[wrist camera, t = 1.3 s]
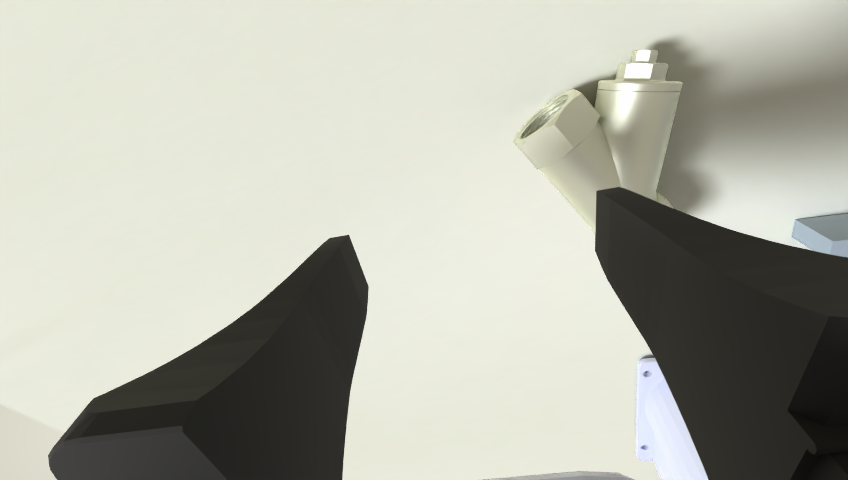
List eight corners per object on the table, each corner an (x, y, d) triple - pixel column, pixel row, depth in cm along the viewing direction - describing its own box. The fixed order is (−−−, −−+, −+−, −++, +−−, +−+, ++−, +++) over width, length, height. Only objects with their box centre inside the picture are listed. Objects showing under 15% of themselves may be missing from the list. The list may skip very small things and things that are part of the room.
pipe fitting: (622, 32, 18) (509, 136, 21) (662, 24, 15) (520, 150, 17) (714, 157, 20) (601, 240, 22) (769, 176, 17) (628, 272, 19)
